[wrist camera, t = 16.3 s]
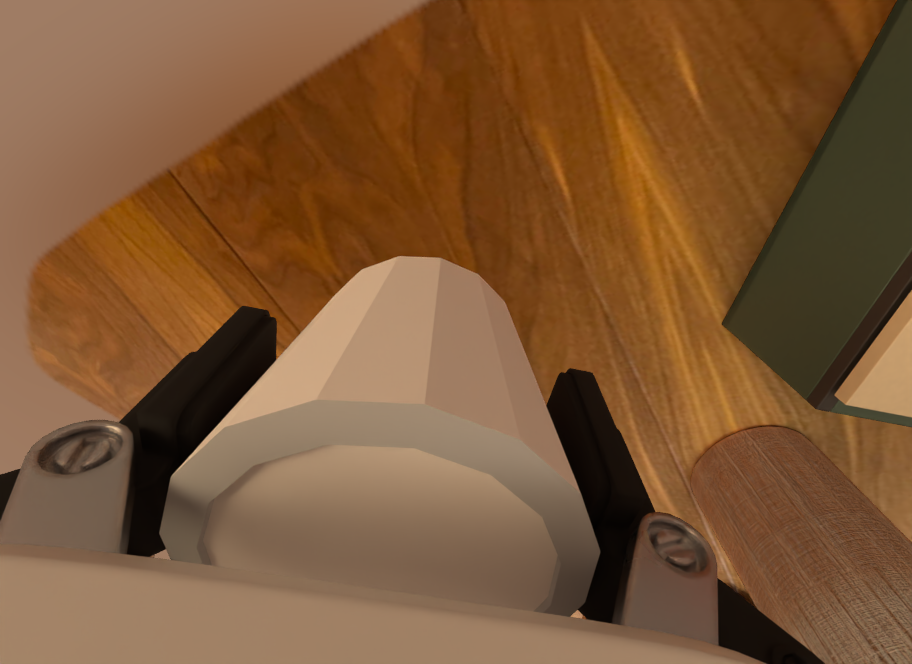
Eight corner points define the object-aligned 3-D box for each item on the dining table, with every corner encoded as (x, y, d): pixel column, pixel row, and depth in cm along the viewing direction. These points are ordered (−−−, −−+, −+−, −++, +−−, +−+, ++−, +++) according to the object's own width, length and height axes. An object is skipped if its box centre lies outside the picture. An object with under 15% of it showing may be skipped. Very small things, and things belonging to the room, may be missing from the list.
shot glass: (392, 464, 16) (345, 713, 9) (251, 311, 13) (53, 524, 7) (577, 380, 14) (667, 623, 8) (459, 179, 11) (450, 308, 5)
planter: (831, 479, 38) (1240, 912, 18) (717, 527, 41) (957, 944, 21) (790, 403, 34) (1244, 837, 14) (668, 461, 37) (901, 888, 17)
